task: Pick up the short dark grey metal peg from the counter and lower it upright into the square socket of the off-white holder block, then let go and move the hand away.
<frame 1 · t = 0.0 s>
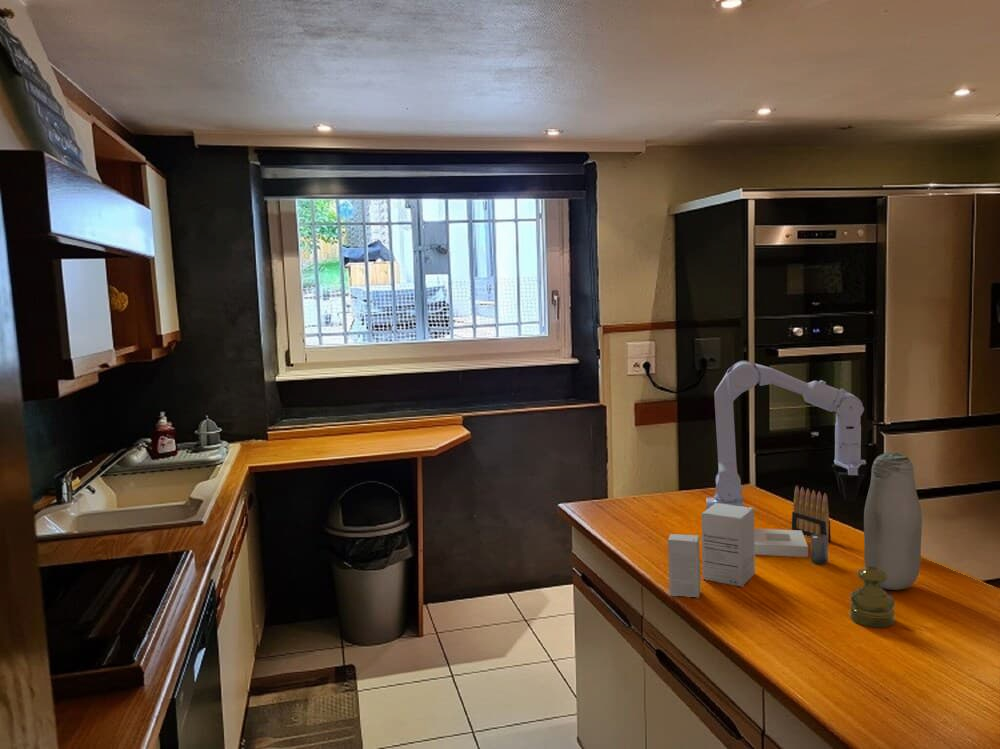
hand: (847, 497, 185), 10 cm above the counter, tool pointing down, fingers open, 7 cm apart
socket block: (778, 547, 181), on the counter
metal peg: (819, 562, 170), on the counter
skincare box: (684, 594, 156), on the counter
grey bottle: (891, 588, 154), on the counter
supplement box: (728, 577, 164), on the counter
ammunition clip: (810, 536, 188), on the counter
olive green knobbed piece: (871, 621, 140), on the counter
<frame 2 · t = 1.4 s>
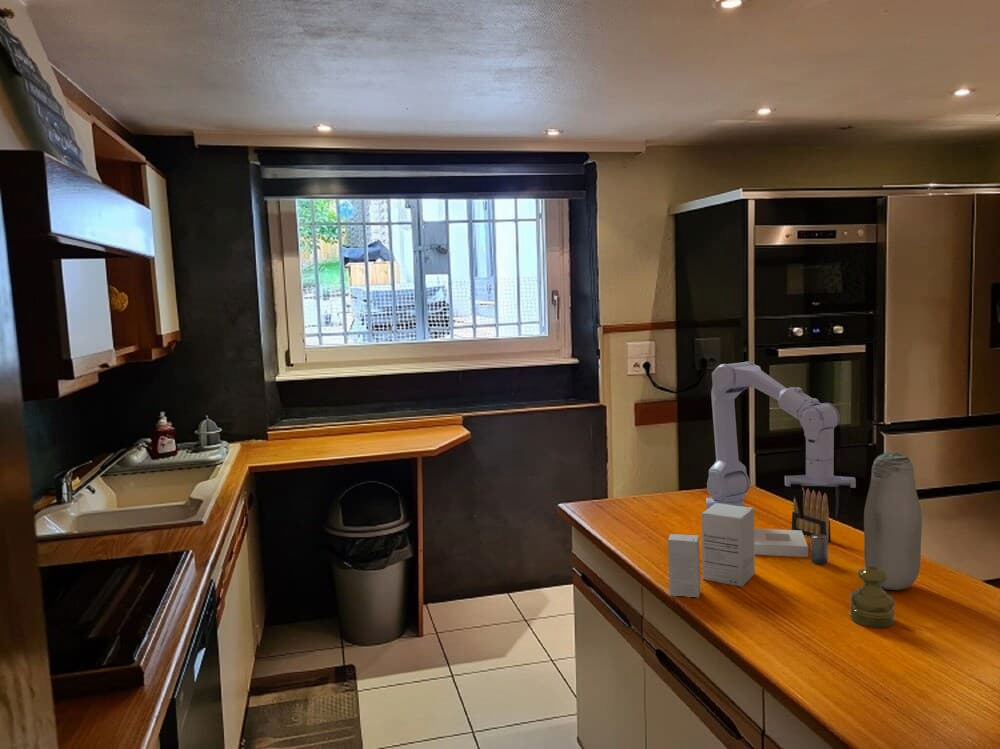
hand: (819, 517, 169), 10 cm above the counter, tool pointing down, fingers open, 7 cm apart
nothing on the counter moved.
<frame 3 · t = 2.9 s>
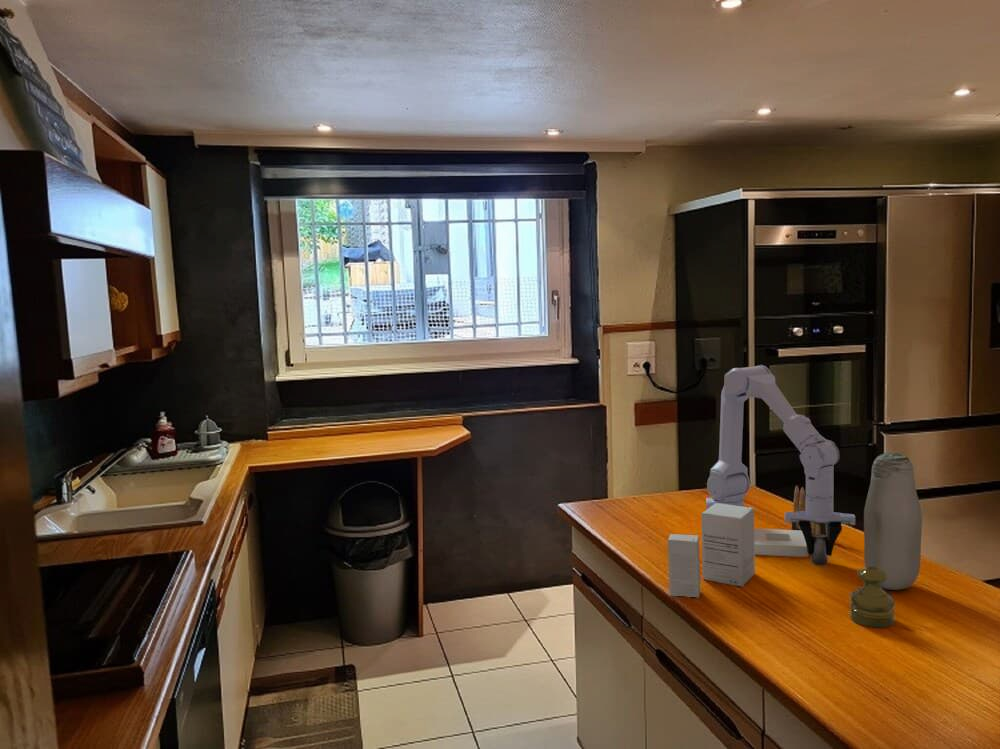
hand: (819, 553, 170), 2 cm above the counter, tool pointing down, fingers closed on metal peg, 3 cm apart
metal peg: (819, 562, 170), on the counter, touching gripper
everything else where it was.
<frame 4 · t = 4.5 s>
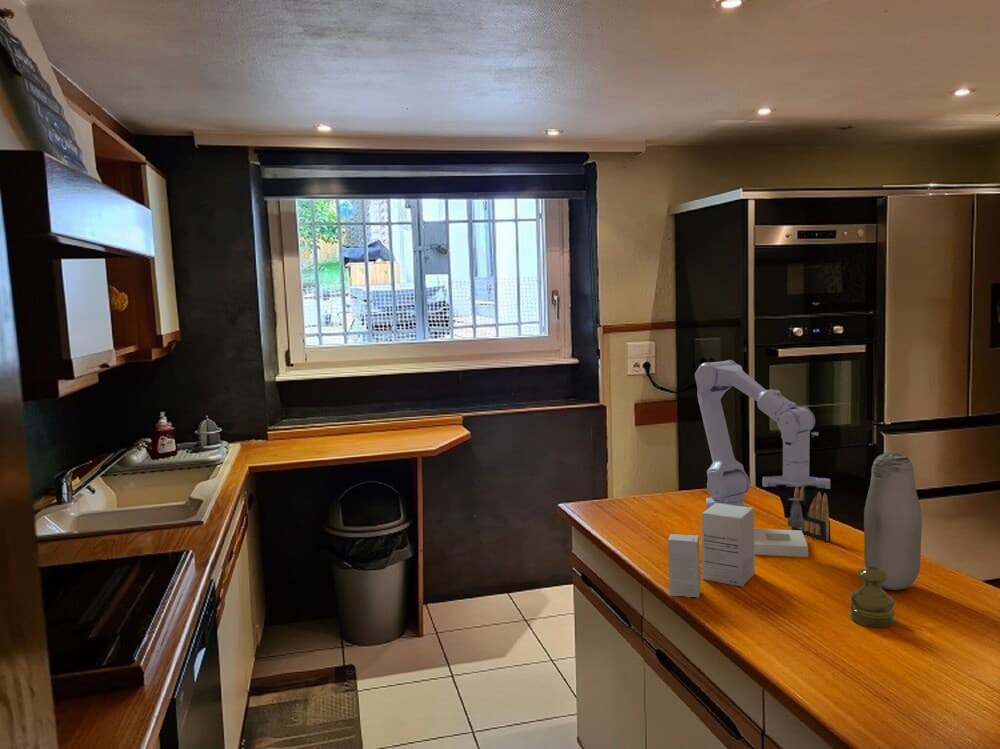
hand: (795, 517, 175), 9 cm above the counter, tool pointing down, fingers closed on metal peg, 3 cm apart
metal peg: (795, 525, 175), point 7 cm above the counter, touching gripper
everything else where it was.
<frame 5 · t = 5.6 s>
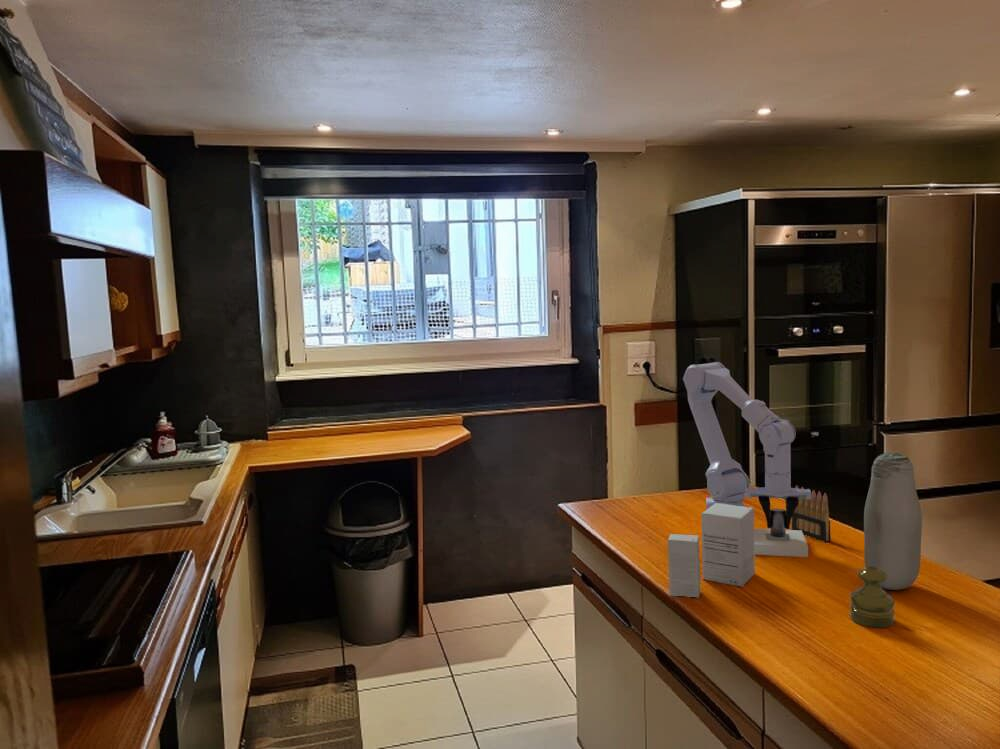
hand: (778, 527, 180), 5 cm above the counter, tool pointing down, fingers closed on metal peg, 3 cm apart
metal peg: (778, 535, 180), point 3 cm above the counter, touching gripper
everything else where it was.
when the fingers open (3 cm above the counter, at t = 6.3 s): metal peg drops 1 cm, resting in socket block.
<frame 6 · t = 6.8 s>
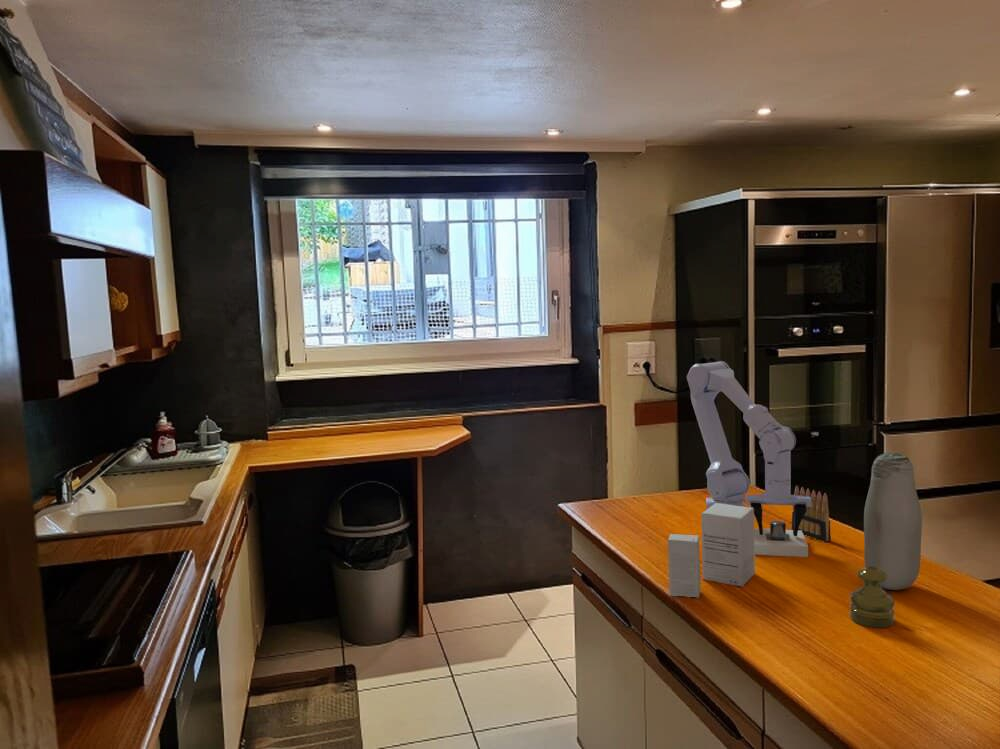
hand: (777, 534, 180), 3 cm above the counter, tool pointing down, fingers open, 7 cm apart
metal peg: (777, 547, 181), resting in socket block
everything else where it was.
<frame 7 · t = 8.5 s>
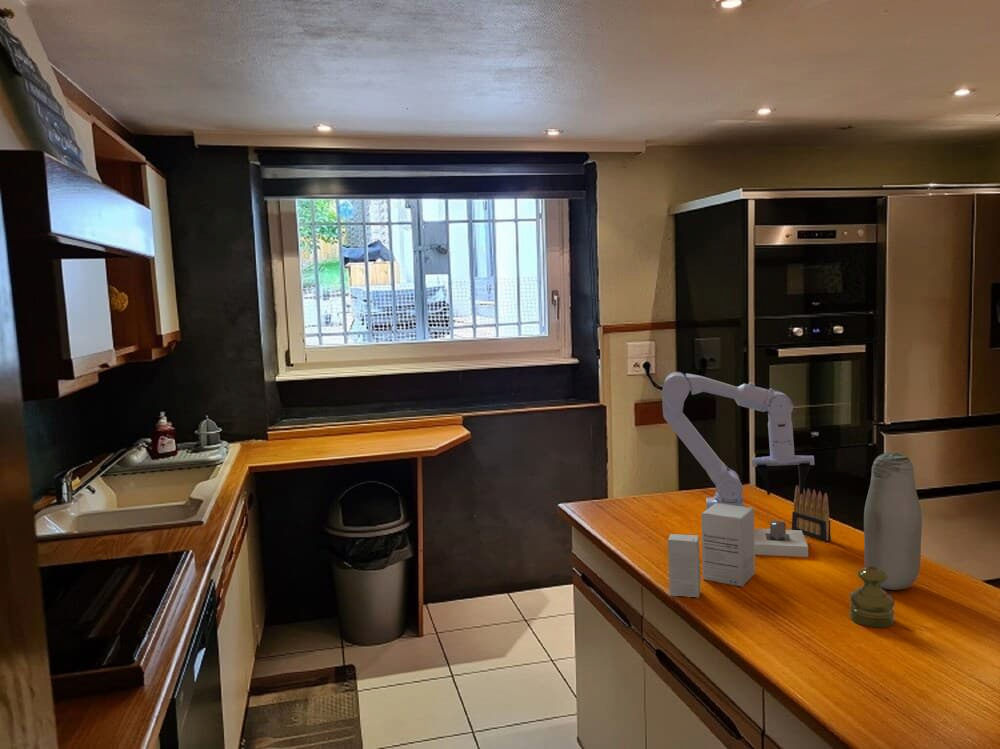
hand: (784, 493, 189), 10 cm above the counter, tool pointing down, fingers open, 7 cm apart
ammunition clip: (810, 536, 188), on the counter, touching gripper
everything else where it was.
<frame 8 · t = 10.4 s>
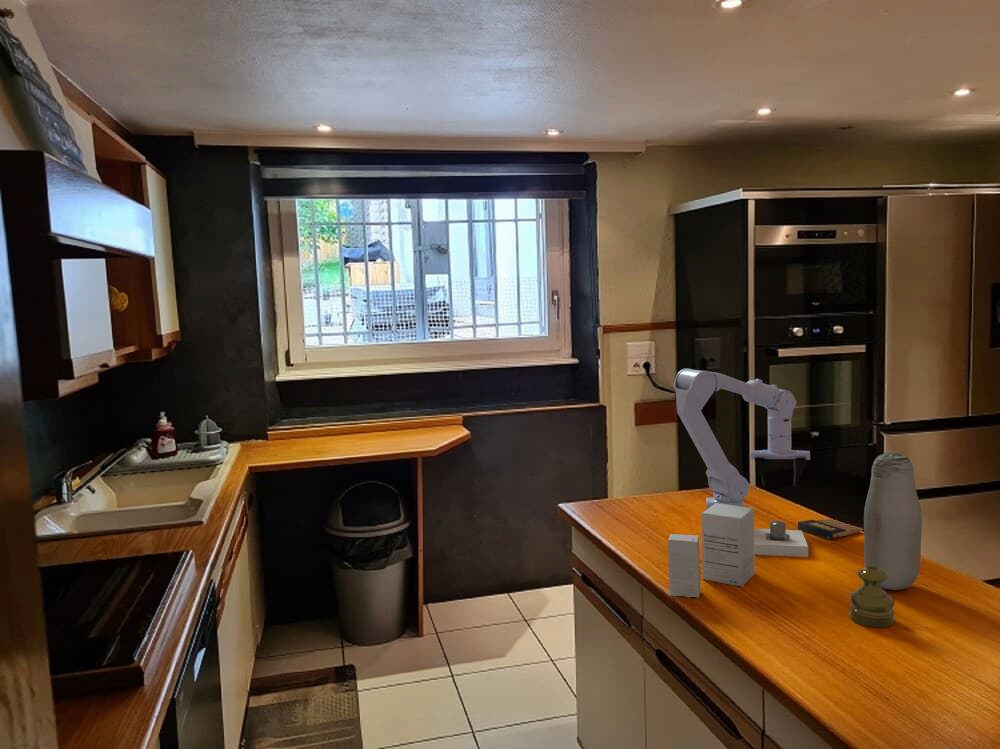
hand: (779, 486, 196), 10 cm above the counter, tool pointing down, fingers open, 7 cm apart
ammunition clip: (813, 530, 188), point 1 cm above the counter
everything else where it was.
at the end: metal peg 0.0 cm off-centre on the socket block, point 0.0 cm above the socket block's base; metal peg tilted 0°; the gripper is holding nothing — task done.
